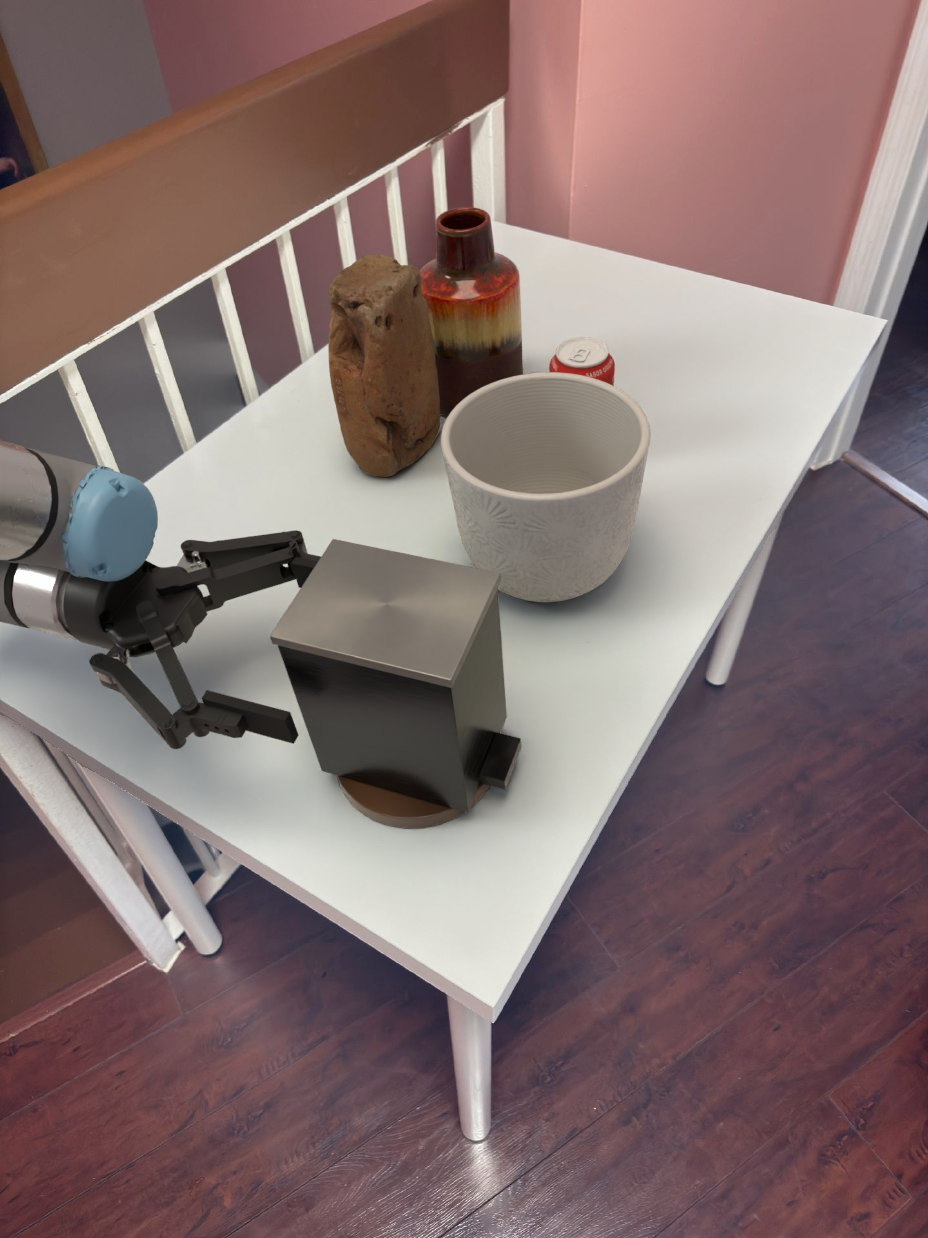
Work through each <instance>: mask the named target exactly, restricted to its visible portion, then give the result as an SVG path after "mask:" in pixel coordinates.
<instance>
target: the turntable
mask: <svg viewBox="0 0 928 1238" xmlns="http://www.w3.org/2000/svg"><path fill="white" fill-rule="evenodd" d="M336 777H337V780H338V784H339V786H340V789H341V791H342V793H343V795H344V797H346V799H347V800H348V802H349V803H350V804H351V805H352V806H353V807H354V808H355V809H356V810H357V811H359V812H360V813H361V814H362V815H364V816H365V817H367V818H369V819H370V820H372V821H375V822H376V823H378V824H379V823H380V824H382V825H385V826H390V827H394V828H399V829H422V828H431V827H434V826H437V825H443V824H444V823H447V822H449V821H452V820H454V819H456V818H457V817H460V816H462V815H463V814H465V812H464V811H460V810H457V809H453V808H450V807H446V806H443V805H439V804H436V803H432V802H429V801H425V800H422V799H418V798H415V797H411V796H408V795H404V794H401V793H397V792H394V791H390V790H387V789H383V788H380V787H376V786H373V785H369V784H366V783H362V782H359V781H355V780H352V779H348V778H345V777H341V776H338V775H336ZM490 788H491V786H488V785H484V784H481V783H480V785H479V787H478V790H477V792H476V795H475V797H474V800H473V802H472V805H471V807H470V809H472V808H473V807H474V806H476V804H477V803H478V802H480V800H481V799H482V798H483V797H484V796H485V795H486V794H487V792H488V790H489V789H490Z"/></svg>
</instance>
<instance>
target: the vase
mask: <svg viewBox="0 0 928 1238" xmlns="http://www.w3.org/2000/svg"><path fill="white" fill-rule="evenodd" d="M491 219H492V218H491V216H490V214H489V212H488V211H486V210H484V209H482V208H479V207H473V206H460V207H454V208H451V209H448V210H446V211H443V212H442V213H440V214H439V215H438V216H437V218H436V219H435V252H436V257H434V258H433V259H431V260H430V261H428V262H427V263H425V264H424V265H423V266H422V267H421V268H420V270H419V271H420V273H421V279H422V296H423V297H424V299H425V301H426V303H427V307H428V314H429V322H430V324H431V330H432V335H433V345H434V354H435V365H436V369H437V376H438V387H439V399H440V416H442V417H444V418H446V419H447V417H448V416H449V414H450V413H451V411H452V410H453V409H454V408H455V407H456V405H458V404H459V403H460V402H461V401H462V400H463V399H464V398H466V397H467V396H468V395H470V394H471V393H473V392H475V391H476V390H478V389H480V388H482V387H484V386H486V385H488V384H491V383H493V382H496V381H499V380H502V379H506V378H509V377H513V376H518V375H524V366H523V365H524V364H523V363H524V361H523V330H522V329H523V327H522V305H521V304H522V302H521V301H522V300H521V277H520V271H519V269H518V266H517V264H515V262H514V261H513V260H511V259H510V258H509V257H508V256H506V255H504V254H501V253H499V252H496V250H495V242H494V236H493V235H494V234H493V227H492V220H491Z"/></svg>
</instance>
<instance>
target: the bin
mask: <svg viewBox="0 0 928 1238" xmlns="http://www.w3.org/2000/svg"><path fill="white" fill-rule="evenodd" d="M320 556H321V558H320V560H319V561H318V563H317V564H316V566H315V567H314V569H313V570H312V572H311V573H310V575H309V577H308V578H307V580H306V581H305V583H304V584H303V586H302V587H301V588H299V590H298V592H297V593H296V595H295V596H294V598H293V599H292V601H291V602H290V604H289V605H288V607H287V609H286V611H285V612H284V613H283V615H282V616H281V618H280V620H279V621H278V623H277V624H276V626H275V627H274V629H273V630H272V632H271V634H269V638H270V641H271V644H272V645H276V646H277V648H278V651H279V653H280V656H281V659H282V662H283V665H284V667H285V671H286V673H287V677H288V679H289V682H290V685H291V688H292V690H293V693H294V697H295V700H296V702H297V705H298V708H299V711H300V713H301V716H302V720H303V722H304V724H305V727H306V730H307V732H308V733H307V734H308V736H309V740H310V741H311V744H312V748H313V750H314V753H315V756H316V759H317V762H318V764H319V768H320V770H321V772H324V773H328V774H331V775H335V776H337V775H338V776H341V777H345V778H348V779H352V780H355V781H359V782H362V783H366V784H369V785H373V786H376V787H380V788H383V789H387V790H390V791H394V792H397V793H401V794H404V795H408V796H411V797H415V798H418V799H422V800H425V801H429V802H432V803H436V804H439V805H443V806H446V807H450V808H453V809H457V810H460V811H464V813H468V814H469V813H470V810H471V808H472V807H471V805H472V802H473V800H474V797H475V795H476V792H477V790H478V787H479V785H480V783H481V784H484V785H488V786H490V787H493V788H495V789H499V790H502V791H505V790H506V789H507V786H508V784H509V780H510V778H511V776H512V773H513V770H514V767H515V765H516V763H517V759H518V757H519V755H520V752H521V750H522V738H521V737H518V736H514V735H510V734H505V733H502V730H503V727H504V725H505V723H506V720H507V717H508V716H507V715H508V714H507V701H506V685H505V671H504V658H503V641H502V630H501V629H502V627H501V614H500V613H501V611H500V600H499V599H500V598H499V590H498V587H499V585H500V583H501V573H497V572H493V571H488V570H483V569H478V568H475V567H474V566H468V565H463V564H458V563H453V562H449V561H443V560H440V559H439V560H438V559H433V558H428V557H423V556H420V555H413V554H410V553H404V552H401V551H400V552H399V551H394V550H389V549H384V548H380V547H374V546H369V545H366V544H359V543H355V542H351V541H346V540H341V539H335V538H332V540H331V541H330V542H329V545H327V548H326V549H325V550H324V552H323V553H322V554H321V555H320ZM470 807H471V808H470Z"/></svg>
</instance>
